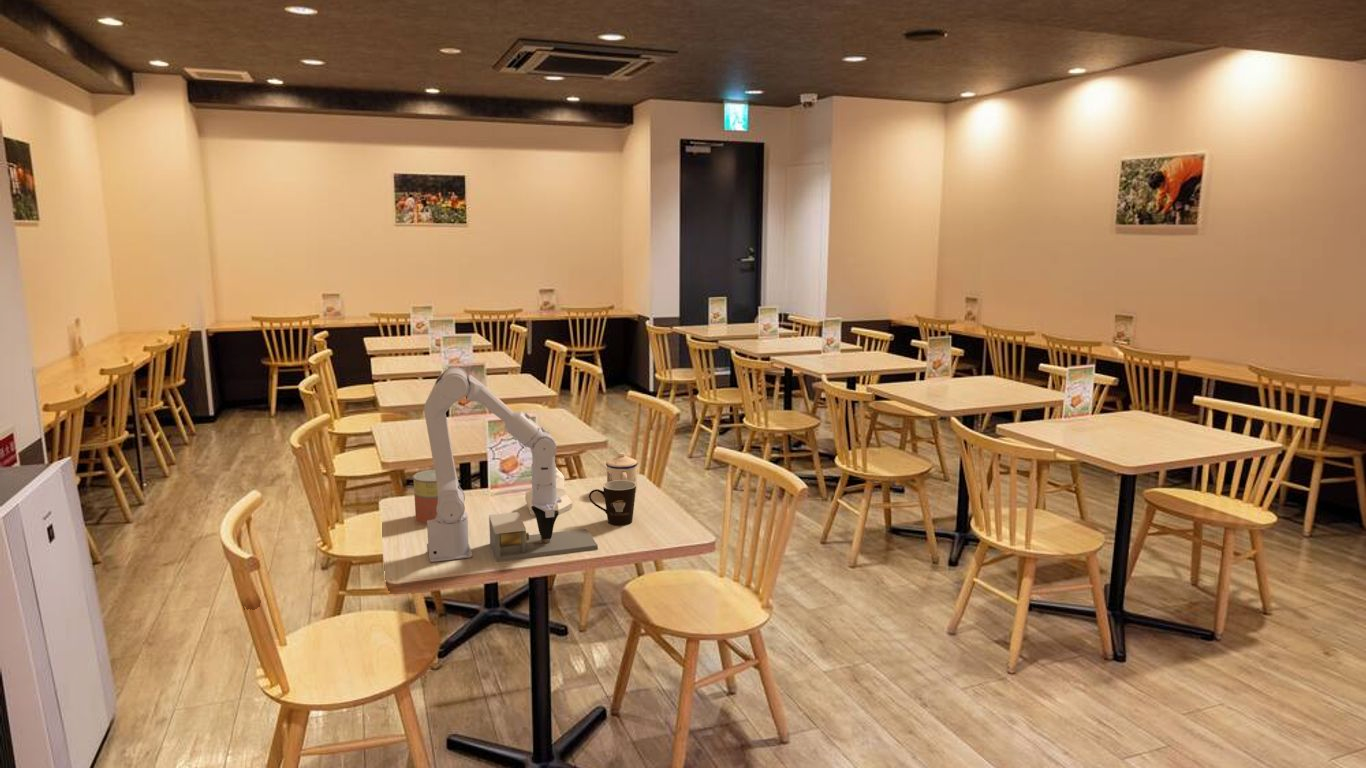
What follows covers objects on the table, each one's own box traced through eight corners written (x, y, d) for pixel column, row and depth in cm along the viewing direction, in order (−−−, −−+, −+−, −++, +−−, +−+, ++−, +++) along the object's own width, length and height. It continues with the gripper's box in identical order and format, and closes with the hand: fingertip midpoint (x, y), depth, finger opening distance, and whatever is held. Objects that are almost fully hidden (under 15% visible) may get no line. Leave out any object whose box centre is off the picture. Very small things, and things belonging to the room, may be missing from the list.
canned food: (457, 524, 223) (455, 480, 221) (412, 526, 221) (409, 482, 219) (461, 510, 234) (459, 467, 232) (418, 512, 232) (416, 469, 230)
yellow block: (501, 550, 202) (500, 530, 201) (498, 543, 207) (497, 523, 206) (552, 544, 206) (551, 524, 205) (548, 537, 210) (547, 517, 210)
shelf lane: (496, 561, 198) (495, 531, 197) (490, 543, 210) (489, 515, 208) (597, 549, 206) (597, 520, 205) (586, 532, 217) (586, 504, 216)
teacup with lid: (604, 487, 254) (604, 449, 252) (635, 486, 255) (635, 448, 253) (609, 500, 242) (608, 460, 240) (641, 498, 244) (640, 459, 242)
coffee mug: (642, 519, 227) (642, 482, 225) (626, 529, 219) (626, 491, 218) (604, 512, 232) (603, 477, 230) (587, 522, 224) (586, 485, 222)
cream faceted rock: (584, 508, 240) (590, 464, 235) (547, 528, 228) (553, 482, 223) (550, 490, 246) (556, 447, 240) (513, 509, 234) (518, 463, 228)
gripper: (566, 489, 200) (568, 545, 202) (554, 472, 213) (556, 524, 216) (536, 492, 197) (538, 548, 200) (526, 475, 211) (528, 528, 213)
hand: (545, 536), depth 208 cm, fingers closed on yellow block, 2 cm apart
